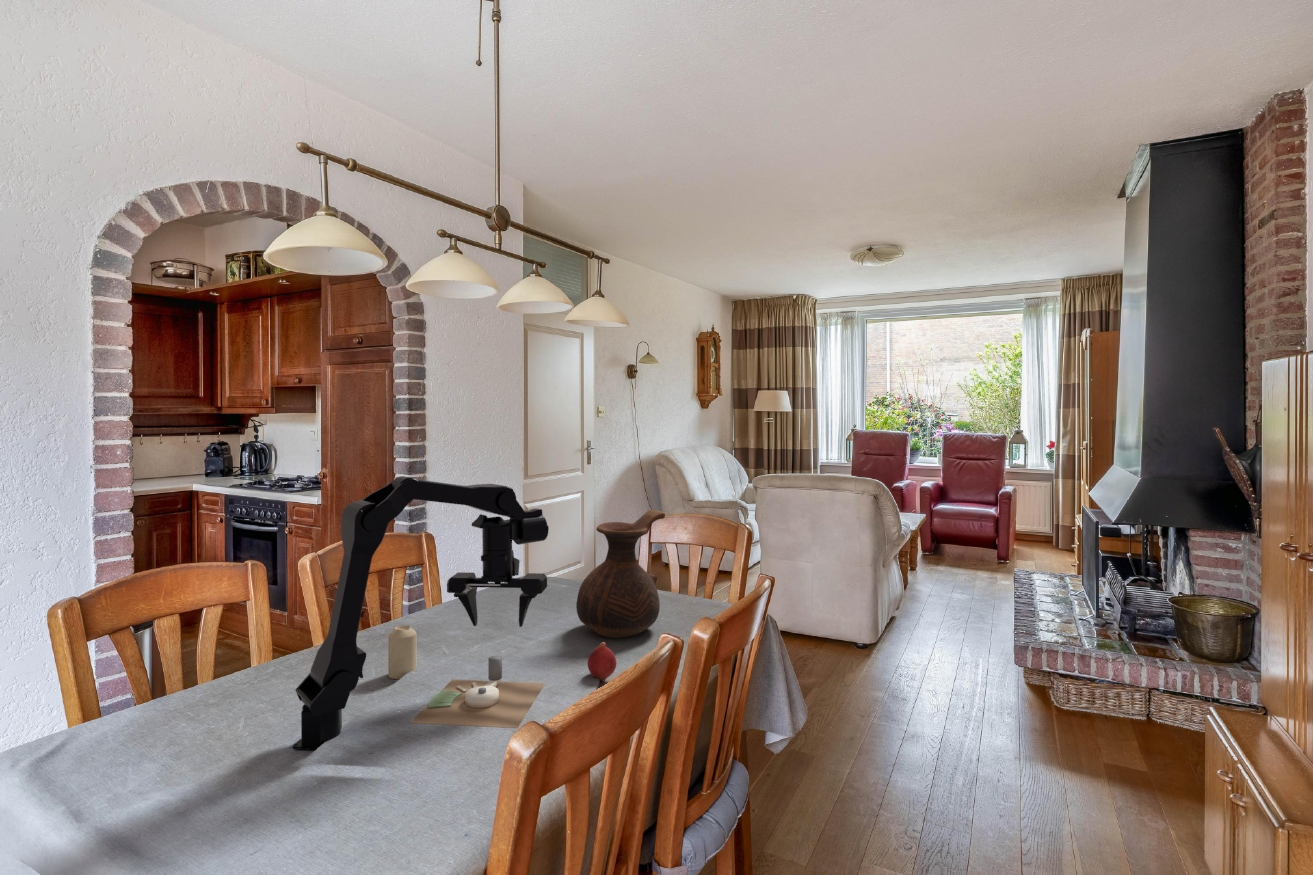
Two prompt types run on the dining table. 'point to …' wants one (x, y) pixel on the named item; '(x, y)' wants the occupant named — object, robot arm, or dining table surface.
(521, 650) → the dining table surface
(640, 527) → the jug
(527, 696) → the dial board
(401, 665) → the candle
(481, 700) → the needle
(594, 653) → the onion
